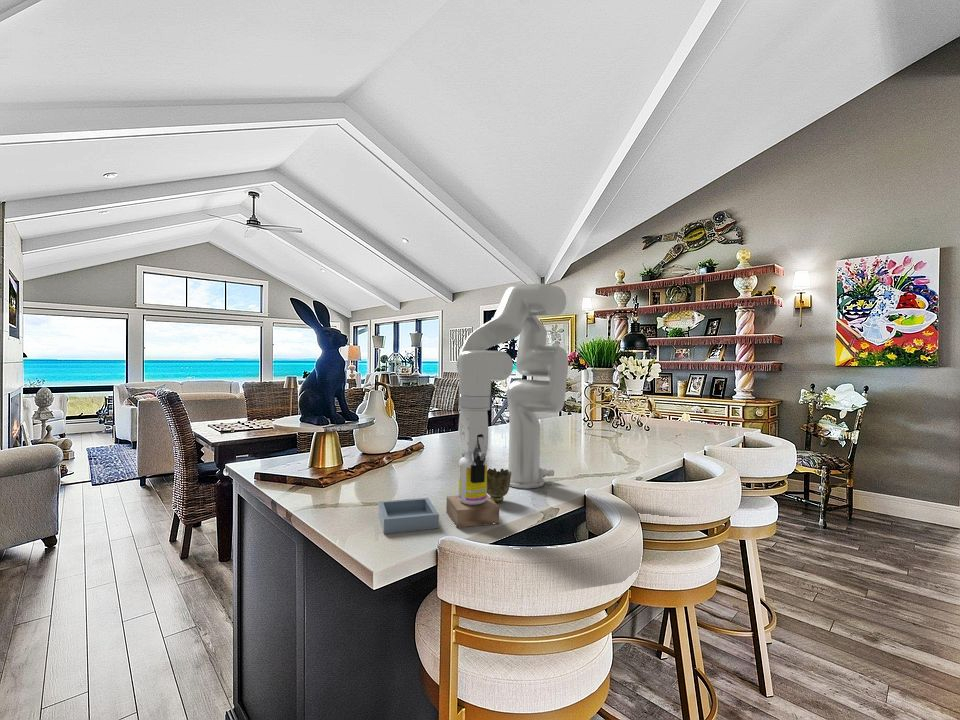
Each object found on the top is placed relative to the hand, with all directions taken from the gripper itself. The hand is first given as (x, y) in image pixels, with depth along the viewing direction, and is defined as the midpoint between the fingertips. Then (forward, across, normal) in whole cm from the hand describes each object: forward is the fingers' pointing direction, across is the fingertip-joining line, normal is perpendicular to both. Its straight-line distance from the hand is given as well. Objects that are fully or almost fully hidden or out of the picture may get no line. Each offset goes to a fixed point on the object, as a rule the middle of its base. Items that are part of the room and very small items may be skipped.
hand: (472, 477), depth 105 cm
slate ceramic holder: (+10, -2, -15) cm, 18 cm away
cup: (+10, -10, +10) cm, 17 cm away
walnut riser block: (+10, 0, 0) cm, 10 cm away
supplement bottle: (+6, 0, 0) cm, 6 cm away
